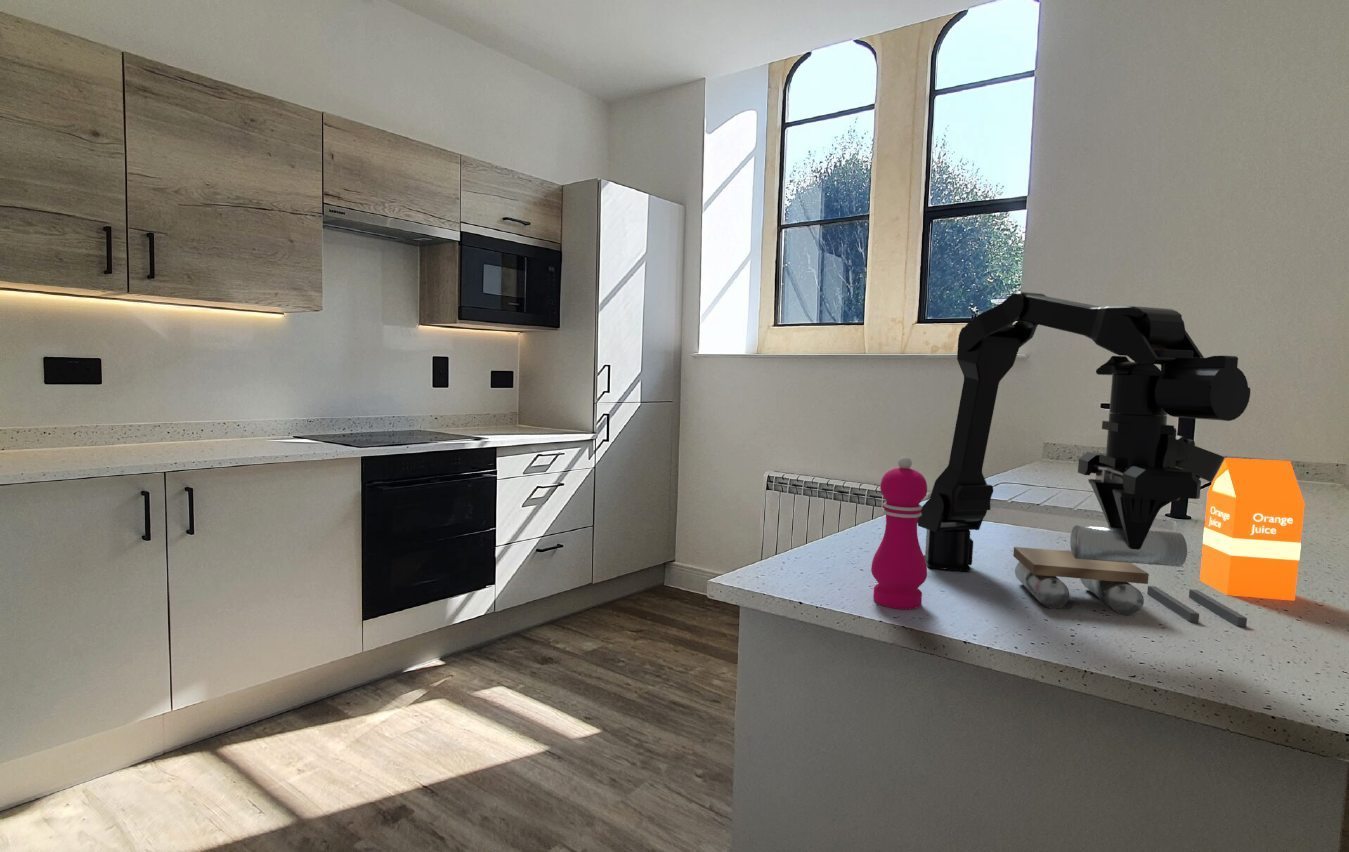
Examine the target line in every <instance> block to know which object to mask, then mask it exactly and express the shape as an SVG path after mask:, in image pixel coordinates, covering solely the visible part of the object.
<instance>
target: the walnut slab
mask: <svg viewBox="0 0 1349 852" xmlns="http://www.w3.org/2000/svg"><path fill="white" fill-rule="evenodd" d="M1012 557H1014V558H1015V559H1016V560H1017V561H1018V563H1019V562H1020V563H1021V564H1022V565H1024V566H1025V567H1026V568H1027V569H1028V570H1029V571H1030V572H1031V573H1032V574H1033V575H1044V576H1056V577H1057V578H1059V577H1060V578H1068V579H1069V578H1070V579H1071V578H1072V579H1080V578H1081V579H1093V580H1105V581H1117V582H1128V583H1129V584H1132V583H1134V584H1142V585H1143V584H1145V585H1148V584H1149V575H1150V574H1149V573H1148V572H1146V571H1145V570H1144V569H1141V568H1140V567H1139V566H1137V565H1135V564H1134V563H1126V562H1113V561H1100V560H1087V559H1076V558H1074V556H1073V554H1072V551H1071V550H1060V549H1047V548H1034V547H1033V548H1032V547H1018V546H1013V555H1012ZM1081 579H1080V580H1081Z"/></svg>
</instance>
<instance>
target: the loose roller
mask: <svg viewBox="0 0 1349 852" xmlns="http://www.w3.org/2000/svg"><path fill="white" fill-rule="evenodd" d="M1069 539H1070V541H1069V542H1070V543H1069V544H1070V551H1072V554H1073V556H1074V558H1076V559H1087V560H1100V561H1113V562H1126V563H1132V564H1138V565H1139V564H1141V565H1153V566H1154V565H1156V566H1165V567H1166V566H1167V567H1182V566H1183V565H1184V564H1185V563H1186V560H1187V556H1188V544H1187V541H1186V538H1185V537H1184V535H1183V534H1182V533H1181V532H1180V531H1179V532H1177V531H1166V530H1165V531H1163V530H1151V529H1150V530H1149V532H1148V534H1147V536H1146V538H1145V540H1144V542H1143V545H1142V547H1141V549H1139V550H1136V549H1130V548H1129V547H1128V544H1127V540H1126V537H1125V534H1124V530H1123V529H1122V528H1109V526H1108V527H1106V526H1093V525H1092V526H1091V525H1078V524H1077V525H1074V526H1073V527H1072V529H1071V533H1070V538H1069Z"/></svg>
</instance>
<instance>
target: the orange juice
mask: <svg viewBox="0 0 1349 852" xmlns="http://www.w3.org/2000/svg"><path fill="white" fill-rule="evenodd" d="M1206 498H1207V499H1206V505H1205V506H1206V508H1205V520H1204V526H1203V536H1202V537H1203V538H1202V550H1201V552H1202V553H1201V560H1200V561H1201V562H1200V563H1201V564H1200V574H1199V581H1200V582H1201V583H1203V584H1206V585H1208V586H1210V587H1211V588H1213V589H1214V590H1217V591H1218V592H1220V593H1223V594H1224V595H1226V596H1232V597H1233V596H1234V597H1235V596H1236V597H1244V598H1245V597H1246V598H1259V599H1269V600H1284V601H1295V600H1296V593H1297V592H1296V591H1297V583H1298V582H1297V581H1298V573H1299V572H1298V571H1299V562H1300V560H1301V559H1300V558H1301V547H1302V543H1301V542H1302V533H1303V532H1302V531H1303V525H1304V524H1303V523H1304V514H1305V503H1306V501H1304V498H1303V495H1302V492H1301V489H1300V486H1299V484H1298V480H1297V477H1296V475H1295V472H1294V469H1293V465H1292V463H1291V460H1279V459H1278V460H1277V459H1276V460H1275V459H1273V460H1272V459H1255V458H1254V459H1252V458H1231V457H1227V458H1226V457H1225V458H1224V460H1223V462H1222V464H1221V466H1220V468H1219V470H1218V471H1217V473H1216V475H1215V477H1214V479H1213V481H1212V482H1211V485H1210V486H1209V488H1208V489H1207V495H1206Z"/></svg>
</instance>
